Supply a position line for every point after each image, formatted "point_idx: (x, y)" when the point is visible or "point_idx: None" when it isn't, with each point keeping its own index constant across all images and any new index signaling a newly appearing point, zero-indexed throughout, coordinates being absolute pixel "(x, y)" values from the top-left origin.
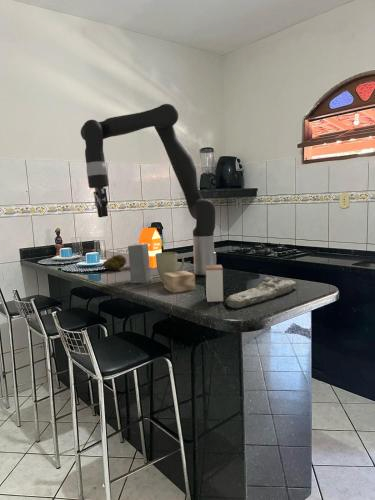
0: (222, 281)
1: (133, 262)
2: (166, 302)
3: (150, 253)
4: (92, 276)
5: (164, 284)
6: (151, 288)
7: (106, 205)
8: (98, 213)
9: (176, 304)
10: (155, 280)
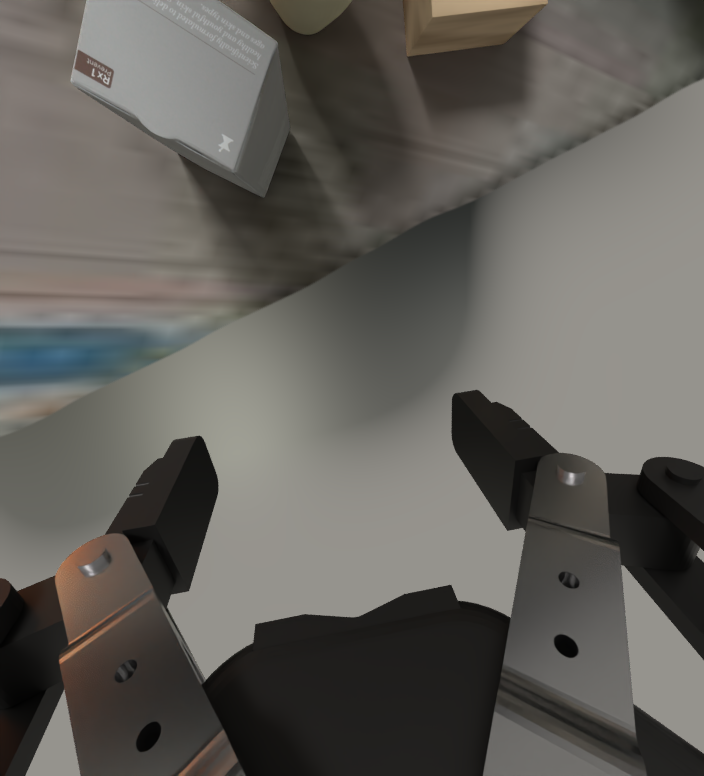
0: None
1: (263, 161)
2: (609, 120)
3: None
4: (32, 366)
5: (417, 47)
6: (393, 122)
7: (577, 465)
8: (207, 517)
9: (648, 91)
10: None
